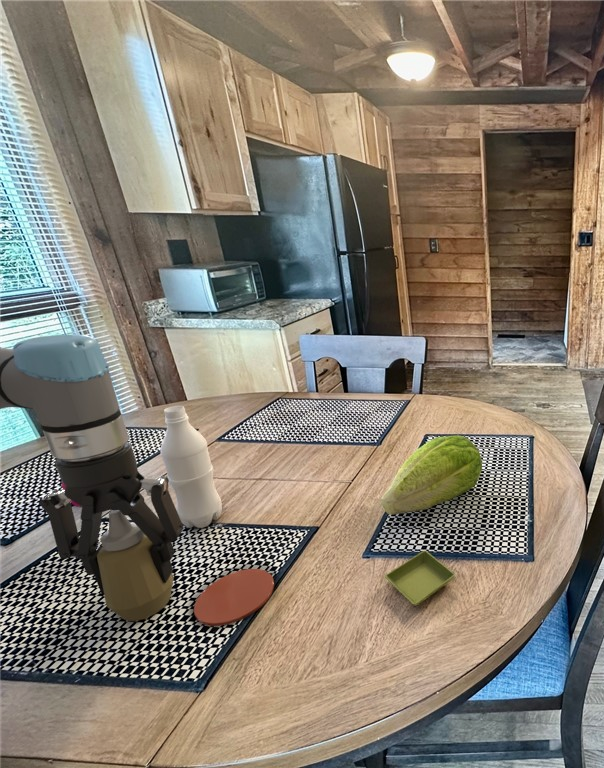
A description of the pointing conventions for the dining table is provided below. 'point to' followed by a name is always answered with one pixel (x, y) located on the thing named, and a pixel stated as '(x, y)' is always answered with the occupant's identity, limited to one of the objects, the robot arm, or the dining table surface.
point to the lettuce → (434, 475)
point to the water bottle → (189, 470)
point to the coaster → (234, 597)
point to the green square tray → (420, 577)
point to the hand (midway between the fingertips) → (138, 581)
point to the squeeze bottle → (130, 571)
